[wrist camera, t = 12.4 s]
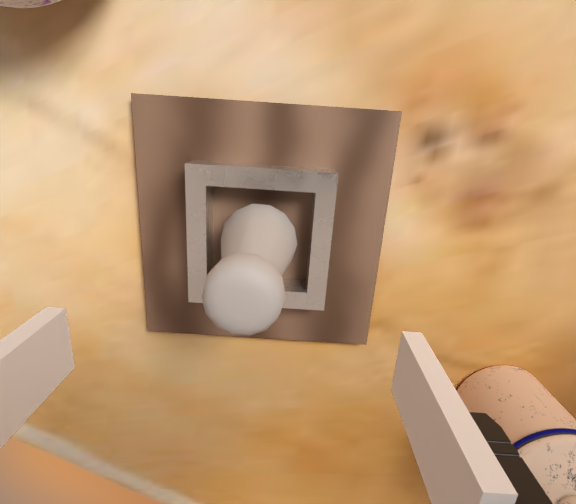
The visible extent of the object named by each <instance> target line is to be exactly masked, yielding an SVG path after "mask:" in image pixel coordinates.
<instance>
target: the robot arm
mask: <svg viewBox="0 0 576 504" xmlns="http://www.w3.org/2000/svg"><path fill="white" fill-rule="evenodd" d="M74 368H75V365H74V358H73V352H72V345H71V339H70V332H69V325H68V319H67V312H66V308H57V307H45V308H44V309H43V310H41V311H40V312H38V313H37V314H36V315H34V316H33V317H32V318H30V319H29V320H27V321H26V322H25V323H23V324H22V325H21V326H19V327H18V328H16V329H15V330H14V331H12V332H11V333H9V334H8V335H7V336H5V337H4V338H3V339H1V340H0V449H1V447H2V446H3V445H4V444H5V443H6V442H7V441H8V440H9V438H11V437H12V435H13V434H14V433H15V432H16V431H17V430H18V429H19V428H20V427H21V426H22V425H23V423H24V422H25V421H26V420H27V419H28V418H29V417H30V416H31V415H32V414H33V413H34V411H35V410H36V409H37V408H38V407H39V406H40V405H41V404H42V403H43V402H44V401H45V399H46V398H47V397H48V396H49V395H50V394H51V393H52V392H53V391H54V390H55V389H56V388H57V386H58V385H59V384H60V383H61V382H62V381H63V380H64V379H65V378H66V377H67V376H68V374H69V373H70V372H71V371H72V370H73V369H74ZM391 390H392V393H393V396H394V399H395V402H396V405H397V408H398V410H399V413H400V416H401V419H402V422H403V425H404V427H405V430H406V433H407V436H408V439H409V442H410V445H411V447H412V450H413V453H414V456H415V459H416V462H417V464H418V467H419V470H420V473H421V476H422V479H423V482H424V484H425V487H426V490H427V493H428V496H429V499H430V501H431V504H553V503H552V502H551V500H550V499H549V497H548V496H547V494H546V493H545V491H544V490H543V488H542V487H541V485H540V484H539V482H538V481H537V479H536V478H535V476H534V475H533V473H532V472H531V471H530V469H529V468H528V466H527V465H526V463H525V462H524V460H523V459H522V457H520V454H519V453H518V451H517V450H516V448H515V447H514V445H512V444H511V441H510V439H509V438H508V436H507V435H506V433H505V432H504V430H503V429H502V427H501V426H500V425H499V424H497V423H496V422H495V421H494V420H493V419H492V418H491V417H489V416H488V415H487V414H486V413H477V412H469V411H468V409H467V408H466V406H465V404H464V403H463V401H462V399H461V398H460V396H459V394H458V393H457V391H456V389H455V388H454V386H453V384H452V383H451V381H450V379H449V377H448V376H447V374H446V372H445V371H444V369H443V367H442V366H441V364H440V362H439V361H438V359H437V357H436V356H435V354H434V352H433V351H432V349H431V347H430V346H429V344H428V342H427V341H426V339H425V337H424V335H423V334H422V332H407V331H402V334H401V339H400V345H399V350H398V355H397V361H396V366H395V371H394V376H393V382H392V387H391Z"/></svg>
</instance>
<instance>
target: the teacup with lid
mask: <svg viewBox="0 0 576 504" xmlns="http://www.w3.org/2000/svg"><path fill="white" fill-rule="evenodd" d="M457 393H458V394H459V396H460V398H461V399H462V401H463V403H464V404H465V406H466V408H467V409H468V411H469V412H477V413H486V414H487V415H488V416H489V417H491V418H492V419H493V420H494V421H495V422H496V423H497V424H499V425H500V426H501V427H502V429H503V430H504V432H505V433H506V435H507V436H508V438H509V439H510V441H511V444H512V445H514V447H515V448H516V450H517V451H518V453H519V454H520V457H522V459H523V460H524V462H525V463H526V465H527V466H528V468H529V469H530V471H531V472H532V473H533V475H534V476H535V478H536V479H537V481H538V482H539V484H540V485H541V487H542V488H543V490H544V491H545V493H546V494H547V496H548V497H549V499H550V500H551V502H552V503H553V504H576V420H575V418H574V417H573V416H572V415H571V414H570V413H569V412H568V411H567V410H566V409H565V408H564V407H563V406H562V405H561V404H560V403H559V402H558V401H557V400H556V399H555V398H554V397H553V396H552V395H551V393H550V392H549V391H548V390H547V389H546V388H545V387H544V386H543V385H542V384H541V383H540V382H539V381H538V380H537V379H536V378H535V377H534V376H533V375H532V374H531V373H529V372H528V371H526V370H524V369H522V368H519V367H515V366H509V365H497V366H491V367H487V368H484V369H482V370H479V371H477V372H475V373H474V374H472V375H471V376H469V377H468V378H467V379H466V380H465V381H464V382H463V383H462V384H461V385H460V386H459V388H458V390H457Z"/></svg>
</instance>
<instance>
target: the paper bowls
mask: <svg viewBox="0 0 576 504" xmlns="http://www.w3.org/2000/svg"><path fill="white" fill-rule="evenodd" d="M59 1H61V0H0V6H4V7H12V8H36V7H40V6H46V5H50V4H53V3H57V2H59Z"/></svg>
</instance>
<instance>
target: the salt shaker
mask: <svg viewBox="0 0 576 504" xmlns="http://www.w3.org/2000/svg"><path fill="white" fill-rule="evenodd" d="M296 247H297V239H296V233H295V228H294V226H293V225H292V223H291V222H290V220H289V219H288V217H287V216H286V215H285V213H283V212H282V211H280V210H278V209H276V208H274V207H273V206H271V205H264V204H250V205H248V206H246V207H243V208H241V209H238V210H236V211H235V212H234V213H233V214H232V215H231V216H230V217H229V219H228V220H227V221H226V222H225V223H224V227H223V231H222V236H221V260H220V261H219V262H218V263H217V264H216V265H215V266H214V267H213V268H212V270H211V271H210V272H209V273H208V274H207V276H206V280H205V284H204V288H203V293H202V300H203V305H204V309H205V313H206V315H207V316H208V317H209V318H210V319H211V320H212V322H213V323H214V324H215V325H216V326H217V327H219V328H221V329H223V330H225V331H227V332H229V333H231V334H233V335H253V334H256V333H259V332H262V331H265V330H267V329H268V328H269V327H270V326H271V325H272V324H273V323H274V322H275V321H276V320H277V319H278V317H279V315H280V313H281V310H282V307H283V304H284V301H285V298H286V295H285V288H284V282H283V277H282V275H283V274H284V272H285V270H286V269H287V267H288V266H289V264H290V262H291V261H292V259H293V256H294V253H295V250H296Z"/></svg>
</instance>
